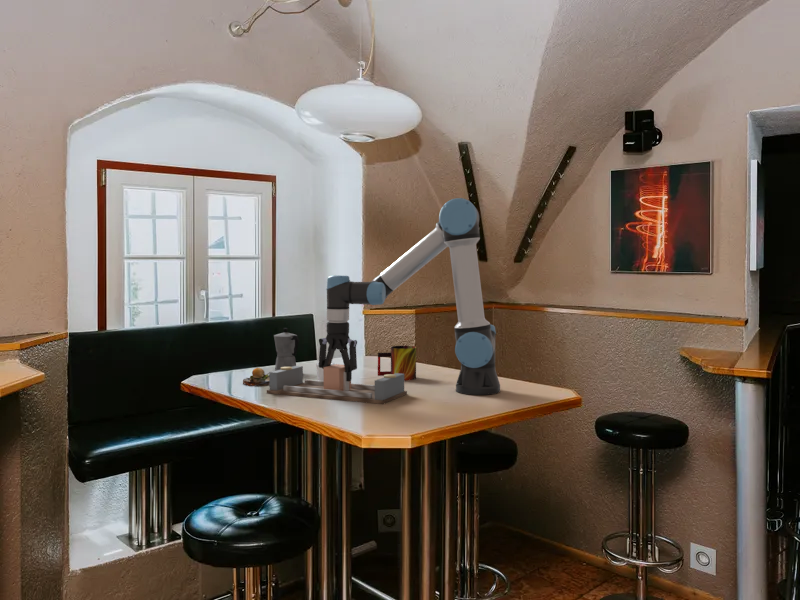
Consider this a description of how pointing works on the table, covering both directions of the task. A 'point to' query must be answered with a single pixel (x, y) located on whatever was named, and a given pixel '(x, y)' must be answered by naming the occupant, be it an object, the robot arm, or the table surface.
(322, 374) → the white cup
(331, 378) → the salmon pink box
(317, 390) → the rail track
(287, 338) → the coffeepot
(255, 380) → the burger
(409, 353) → the mug
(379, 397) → the knobbed grey end panels
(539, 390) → the table surface
